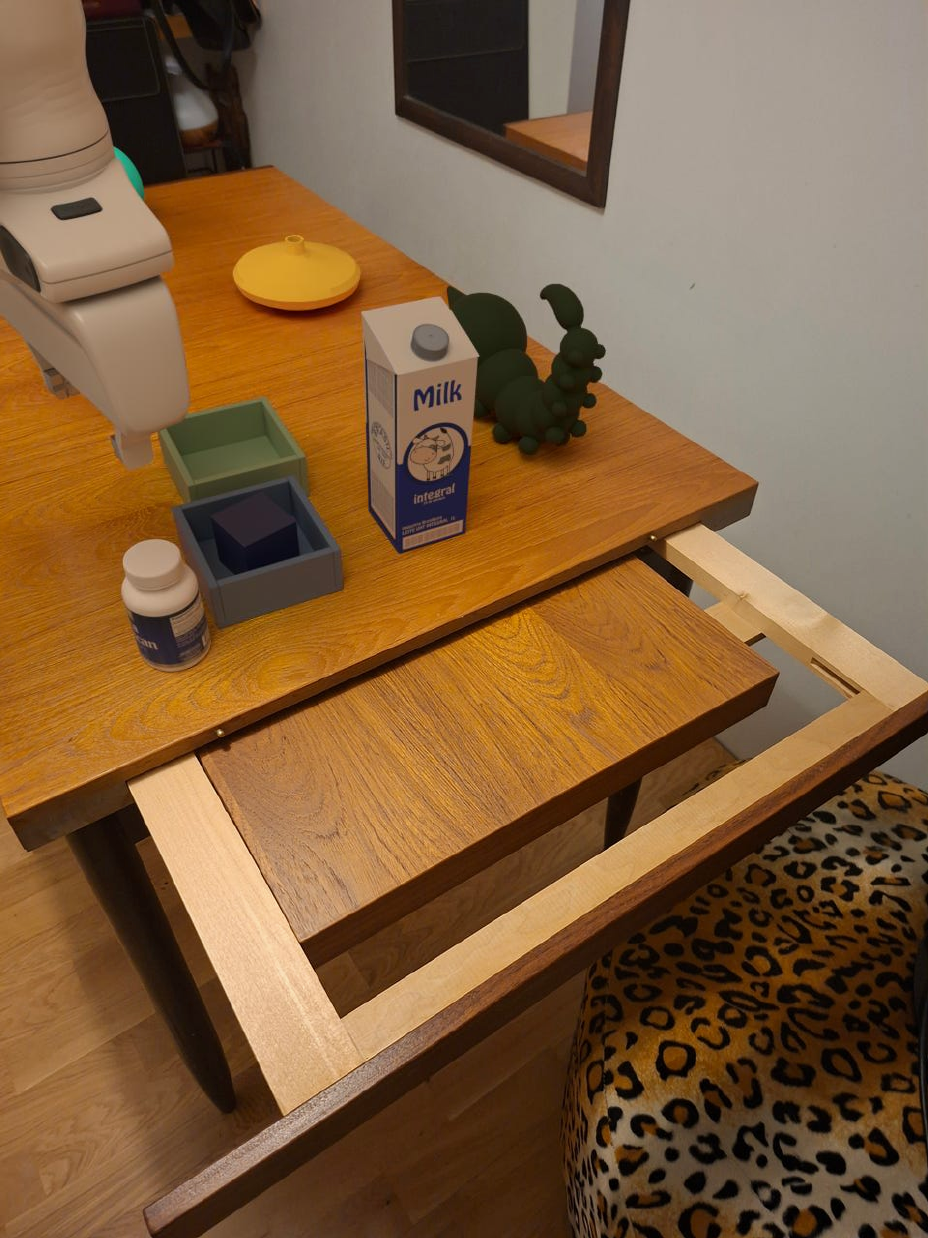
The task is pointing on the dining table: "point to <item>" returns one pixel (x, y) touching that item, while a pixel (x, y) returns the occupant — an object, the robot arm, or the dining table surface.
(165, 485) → the dining table surface
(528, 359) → the toy figurine
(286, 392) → the dining table surface
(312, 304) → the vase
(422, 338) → the milk carton
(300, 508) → the blue bin
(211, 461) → the green bin
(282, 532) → the navy block
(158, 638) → the pill bottle
